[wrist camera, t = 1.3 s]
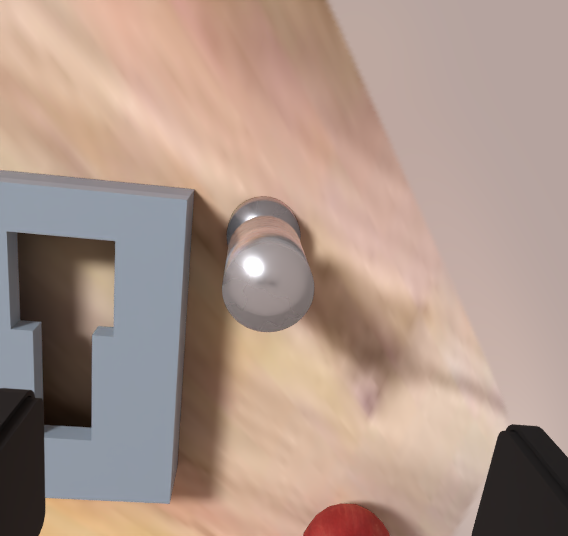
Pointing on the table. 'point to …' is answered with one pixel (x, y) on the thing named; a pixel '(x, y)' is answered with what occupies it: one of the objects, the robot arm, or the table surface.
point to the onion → (346, 522)
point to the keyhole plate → (107, 331)
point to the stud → (266, 267)
